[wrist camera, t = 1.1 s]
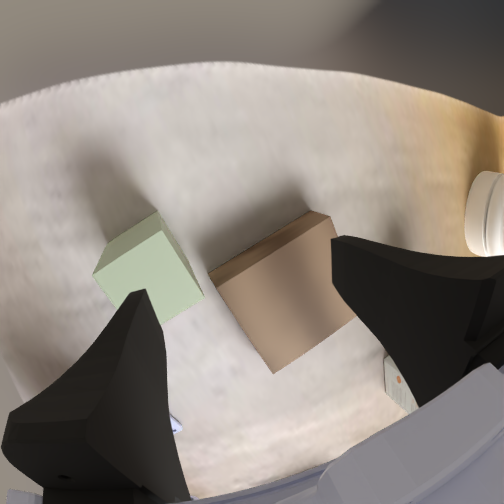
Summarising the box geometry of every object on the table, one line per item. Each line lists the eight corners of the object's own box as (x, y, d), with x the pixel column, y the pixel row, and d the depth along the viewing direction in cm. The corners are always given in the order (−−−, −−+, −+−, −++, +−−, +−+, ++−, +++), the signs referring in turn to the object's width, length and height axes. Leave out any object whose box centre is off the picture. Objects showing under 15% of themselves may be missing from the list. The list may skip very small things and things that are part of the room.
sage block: (140, 290, 22) (139, 337, 16) (107, 243, 21) (92, 275, 14) (188, 260, 23) (205, 297, 17) (157, 210, 21) (161, 229, 15)
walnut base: (261, 355, 28) (273, 374, 25) (207, 273, 24) (216, 288, 21) (345, 298, 29) (363, 310, 26) (310, 210, 25) (330, 216, 23)
